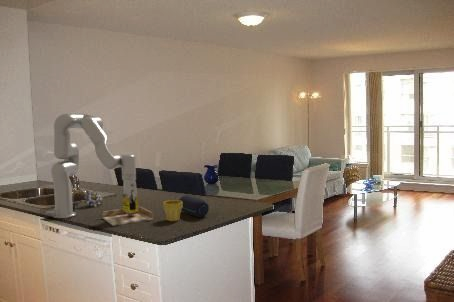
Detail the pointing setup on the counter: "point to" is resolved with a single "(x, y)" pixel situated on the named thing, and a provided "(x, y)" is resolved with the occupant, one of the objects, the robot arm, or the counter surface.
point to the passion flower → (93, 199)
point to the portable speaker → (194, 206)
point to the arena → (127, 216)
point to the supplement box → (127, 205)
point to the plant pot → (173, 209)
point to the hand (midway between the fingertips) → (130, 208)
